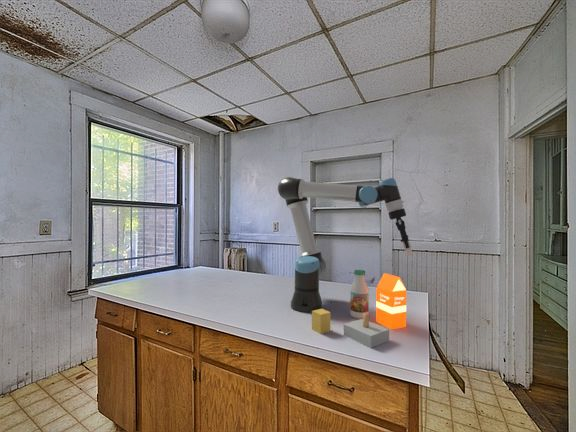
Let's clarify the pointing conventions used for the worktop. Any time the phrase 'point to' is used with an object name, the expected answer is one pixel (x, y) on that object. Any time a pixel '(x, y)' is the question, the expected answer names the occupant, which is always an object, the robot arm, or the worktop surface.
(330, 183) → the robot arm
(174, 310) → the worktop surface
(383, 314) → the orange juice
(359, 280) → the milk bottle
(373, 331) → the toggle switch box
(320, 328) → the yellow rectangular block
